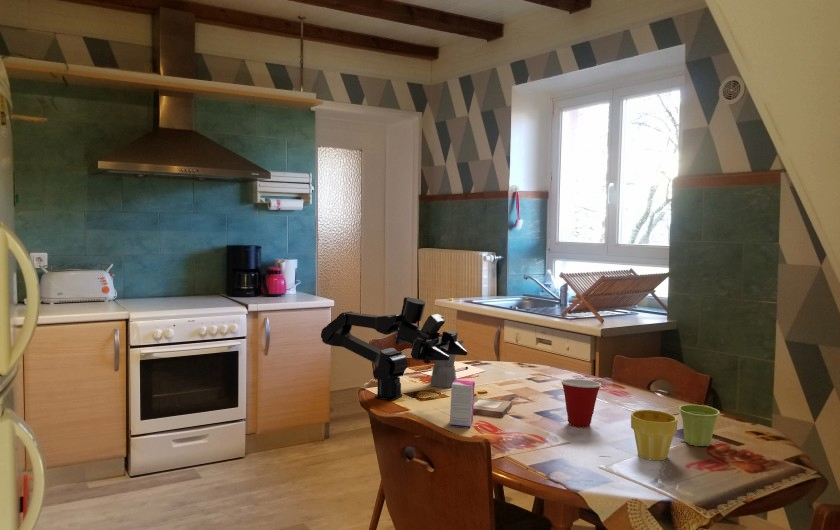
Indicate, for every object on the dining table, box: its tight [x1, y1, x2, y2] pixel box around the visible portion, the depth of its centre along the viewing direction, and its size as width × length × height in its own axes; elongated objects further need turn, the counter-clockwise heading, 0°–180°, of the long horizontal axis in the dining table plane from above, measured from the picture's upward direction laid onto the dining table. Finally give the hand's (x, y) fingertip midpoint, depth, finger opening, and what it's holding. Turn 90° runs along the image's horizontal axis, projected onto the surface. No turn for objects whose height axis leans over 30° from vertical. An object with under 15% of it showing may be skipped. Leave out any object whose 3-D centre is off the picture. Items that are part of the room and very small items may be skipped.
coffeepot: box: [423, 331, 465, 389], centre depth 223 cm, size 15×9×18 cm, turn 103°
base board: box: [473, 396, 513, 418], centre depth 195 cm, size 12×12×2 cm
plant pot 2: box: [678, 404, 720, 447], centre depth 169 cm, size 9×9×9 cm
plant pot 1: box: [630, 409, 678, 461], centre depth 159 cm, size 10×10×10 cm
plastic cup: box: [560, 378, 602, 428], centre depth 182 cm, size 11×11×12 cm
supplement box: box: [449, 379, 476, 429], centre depth 180 cm, size 6×6×12 cm
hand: (458, 356), depth 190 cm, fingers open, 9 cm apart
